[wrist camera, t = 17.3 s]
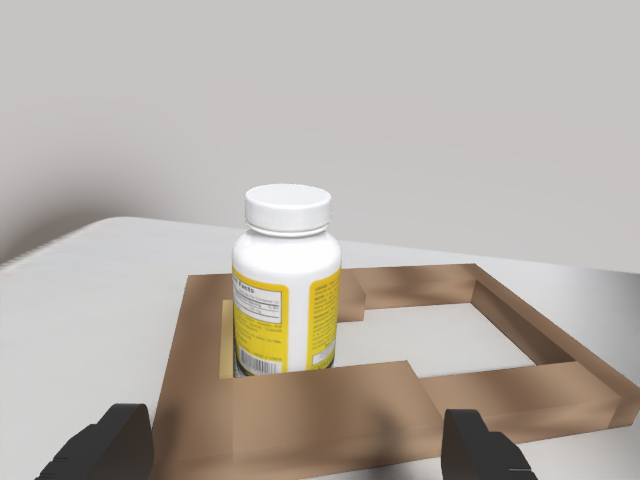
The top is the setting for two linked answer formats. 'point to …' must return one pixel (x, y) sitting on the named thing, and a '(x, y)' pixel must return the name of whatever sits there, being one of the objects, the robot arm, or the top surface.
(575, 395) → the keyhole board
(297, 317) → the supplement bottle
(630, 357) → the top surface
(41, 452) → the top surface
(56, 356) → the top surface
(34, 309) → the top surface
